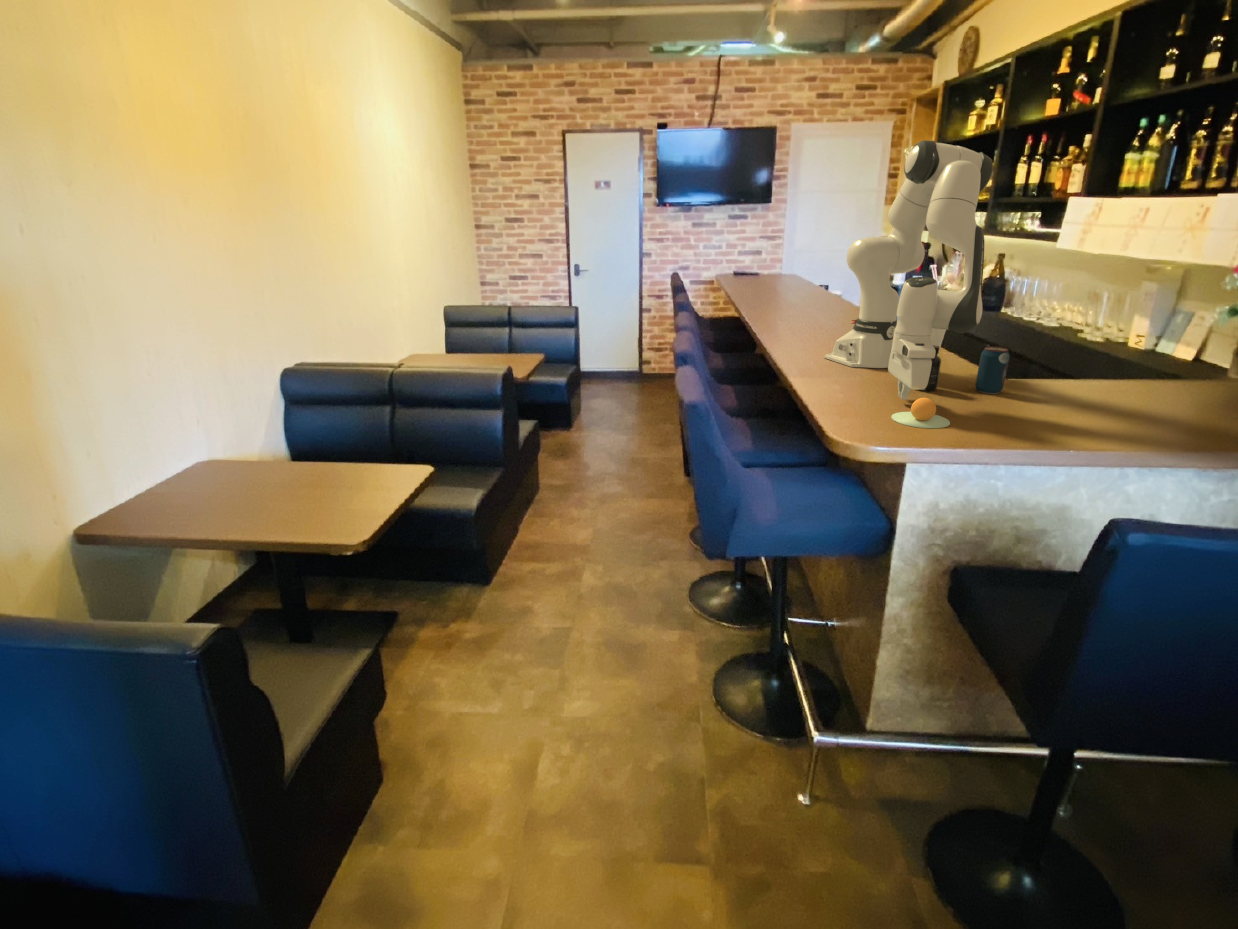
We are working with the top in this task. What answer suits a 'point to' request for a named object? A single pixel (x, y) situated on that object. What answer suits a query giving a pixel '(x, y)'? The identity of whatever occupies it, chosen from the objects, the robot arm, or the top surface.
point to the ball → (923, 409)
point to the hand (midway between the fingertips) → (902, 398)
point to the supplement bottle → (934, 372)
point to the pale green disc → (909, 420)
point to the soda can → (992, 370)
